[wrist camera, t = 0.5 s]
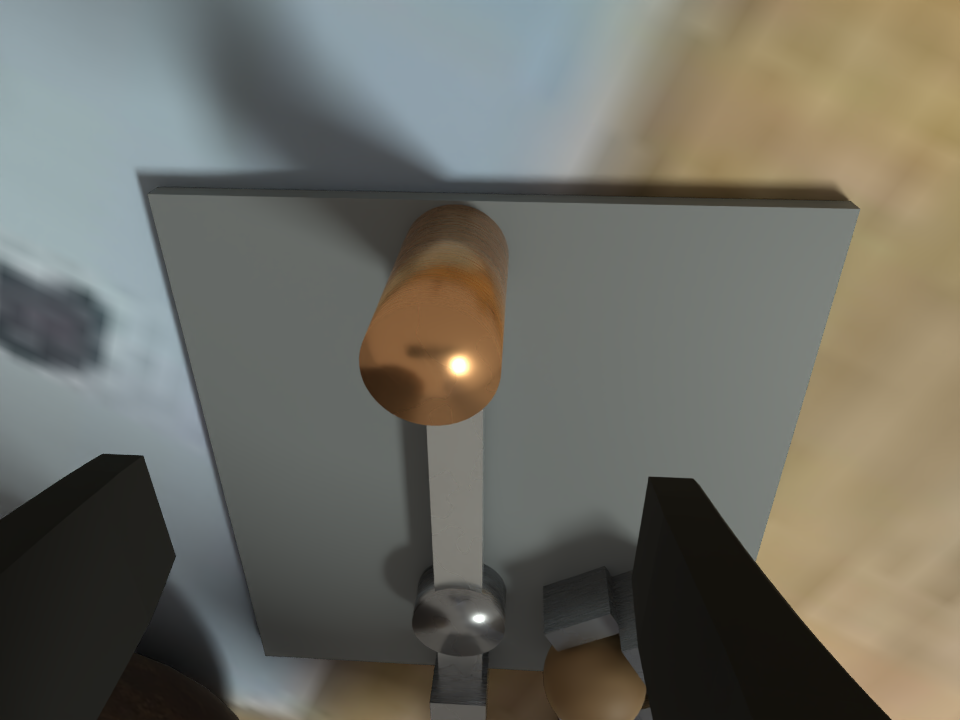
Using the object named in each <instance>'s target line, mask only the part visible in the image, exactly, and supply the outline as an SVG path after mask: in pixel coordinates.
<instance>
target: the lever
mask: <svg viewBox="0 0 960 720" xmlns="http://www.w3.org/2000/svg"><path fill="white" fill-rule="evenodd" d="M508 262H509V251H508V245H507V242H506V239H505V236H504V234H503V232H502V231H501V229H500V228H499V226H498V225H497V224H496V223H495V222H494V221H493V220H492V219H491V218H490V217H489V216H487V215H486V214H484V213H483V212H481V211H479V210H477V209H475V208H472V207H469V206H464V205H455V204H454V205H443V206H439V207H436V208H433V209H431V210H429V211H427V212H425V213H424V214H422V215H421V216H420V217H419V218H418V219H417V220H416V221H415V222H414V223H413V224H412V226H411V227H410V229H409V231H408V233H407V235H406V237H405V240H404V242H403V244H402V247H401V249H400V252H399V254H398V257H397V259H396V261H395V264H394V266H393V269H392V271H391V274H390V276H389V278H388V281H387V283H386V286H385V288H384V291H383V293H382V295H381V298H380V300H379V303H378V305H377V308H376V310H375V312H374V315H373V317H372V320H371V322H370V325H369V327H368V329H367V332H366V334H365V337H364V339H363V342H362V345H361V348H360V353H359V368H360V373H361V377H362V380H363V382H364V384H365V386H366V388H367V390H368V391H369V393H370V394H371V396H372V397H373V398H374V399H375V400H376V401H377V402H378V403H379V404H380V405H381V406H382V407H383V408H384V409H386V410H387V411H389V412H390V413H392V414H393V415H395V416H397V417H399V418H401V419H404V420H406V421H409V422H412V423H416V424H421V425H427V445H428V466H429V486H430V506H431V526H432V547H433V565H432V566H430V567H429V568H427V569H426V570H425V571H424V572H423V574H422V575H421V577H420V579H419V583H418V589H417V595H416V600H415V606H414V612H413V618H412V628H413V631H414V633H415V635H416V637H417V638H418V639H419V640H420V641H421V642H422V643H423V644H424V645H426V646H427V647H429V648H430V649H432V650H434V651H436V660H435V667H434V675H433V683H432V690H431V698H430V713H431V720H486V718H487V700H488V682H489V651H490V650H492V649H493V648H495V647H496V646H497V645H498V644H499V643H500V642H501V640H502V638H503V636H504V633H505V613H506V586H505V583H504V581H503V579H502V578H501V576H500V575H499V574H498V573H497V572H496V571H495V570H494V569H492V568H491V567H489V566H487V565H485V564H484V408H485V407H486V406H487V405H488V403H489V402H490V401H491V400H492V398H493V397H494V395H495V393H496V391H497V389H498V386H499V383H500V379H501V368H502V353H503V338H504V323H505V307H506V292H507V277H508Z"/></svg>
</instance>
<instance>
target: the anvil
mask: <svg viewBox="0 0 960 720" xmlns="http://www.w3.org/2000/svg"><path fill="white" fill-rule="evenodd" d="M632 572H633V570H631V571H627V572H624V573H621V574H618V575H615V576H611V574H610V573H609V571H608V570H607V568H606V567H605V566H603V567H600V568H597V569H594V570H591V571H588V572H585V573H582V574H579V575H576V576H573V577H570V578H567V579H564V580H561V581H558V582H555V583H552V584H549V585H546V586H543V610H544V635H545V636H546V638H547V639H548V640H549V642H550V643H551V644H552V645H553V647H554V648H555V649H556V650H557V652H558V651H562V650H565V649H568V648H572V647H575V646H578V645H582V644H585V643H588V642H592V641H595V640H598V639H602V638H605V637H608V636H612V635H615V634H618V633H619V635H620V643H621V651H622V653H623V654H624V656H625V657H626V659H627V660H628V661H629V663H630V664H631V666H632V667H633V668H634V670H635V671H636V673H637V674H638V675H639V677H640V678H641V680H642V681H643V682H644V684H645V680H644V675H643V670H642V665H641V660H640V655H639V650H638V642H637V632H636V623H635V613H634V601H633V590H632V579H631V578H632ZM634 720H653V718H652V714H651V709H650V704H649V699H648V694H647V689H646V695H645V700H644V703H643V705H642V708H641V710H640V711H639V713H638V715H637V716H636V718H635V719H634Z"/></svg>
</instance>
